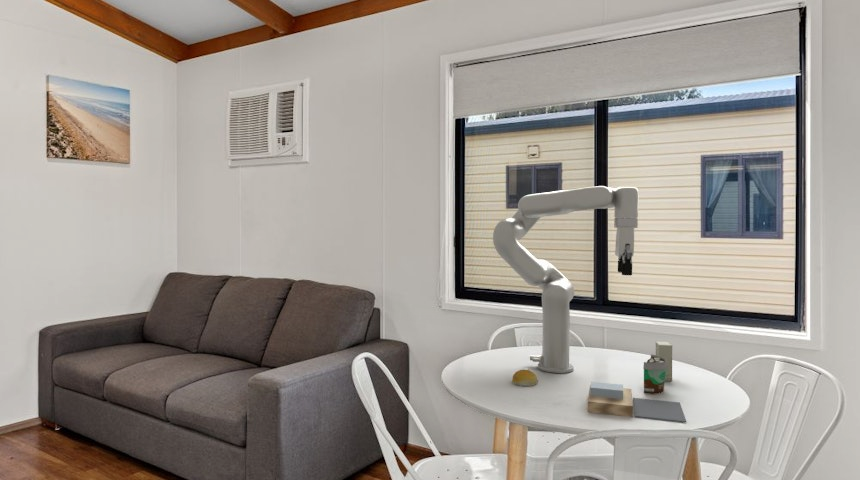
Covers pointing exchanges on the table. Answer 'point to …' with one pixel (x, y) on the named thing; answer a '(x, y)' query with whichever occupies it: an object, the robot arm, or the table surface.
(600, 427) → the table surface
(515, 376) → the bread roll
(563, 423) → the table surface
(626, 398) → the wooden block
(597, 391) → the tile
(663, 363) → the food container
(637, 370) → the table surface
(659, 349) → the skincare box
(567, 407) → the table surface
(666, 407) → the mat
